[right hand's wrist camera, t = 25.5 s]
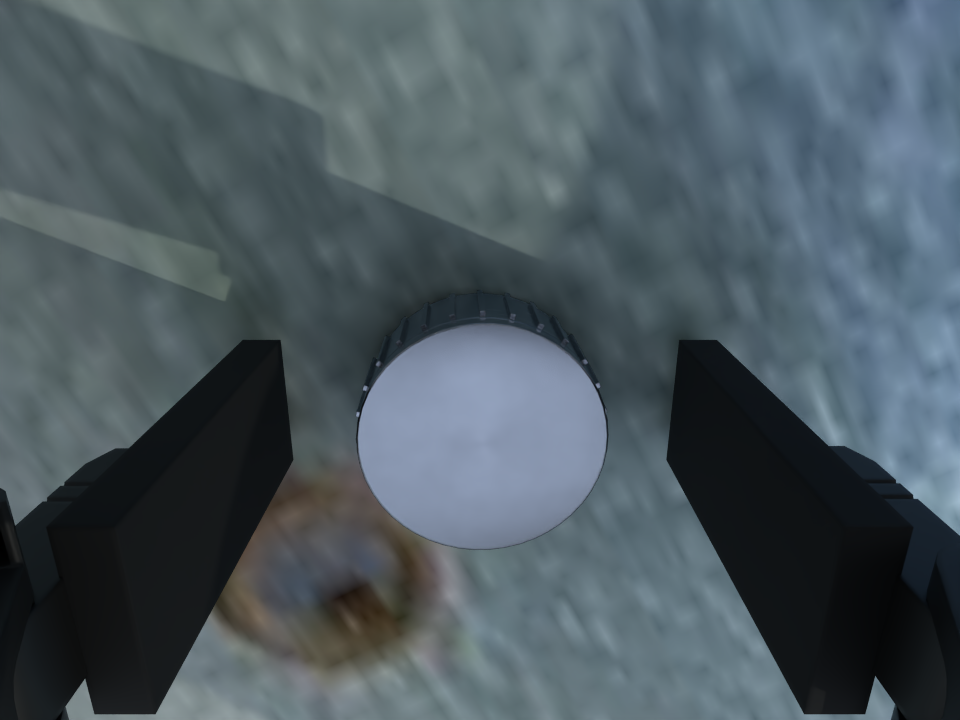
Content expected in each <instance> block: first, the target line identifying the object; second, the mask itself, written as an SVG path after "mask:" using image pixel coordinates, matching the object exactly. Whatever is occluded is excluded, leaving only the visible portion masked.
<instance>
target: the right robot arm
mask: <svg viewBox="0 0 960 720" xmlns="http://www.w3.org/2000/svg"><path fill="white" fill-rule="evenodd" d="M666 460H667V462H668V463H669V465H670V467H671V469H672V471H673V473H674V475H675V476H676V478H677V480H678V482H679V484H680V486H681V487H682V489H683V491H684V493H685V495H686V497H687V499H688V500H689V502H690V504H691V506H692V508H693V510H694V511H695V513H696V515H697V517H698V519H699V521H700V523H701V524H702V526H703V528H704V530H705V532H706V534H707V535H708V537H709V539H710V541H711V543H712V545H713V547H714V548H715V550H716V552H717V554H718V556H719V558H720V559H721V561H722V563H723V565H724V567H725V569H726V571H727V572H728V574H729V576H730V578H731V580H732V582H733V583H734V585H735V587H736V589H737V591H738V593H739V595H740V596H741V598H742V600H743V602H744V604H745V606H746V607H747V609H748V611H749V613H750V615H751V617H752V619H753V620H754V622H755V624H756V626H757V628H758V630H759V631H760V633H761V635H762V637H763V639H764V641H765V643H766V644H767V646H768V648H769V650H770V652H771V654H772V655H773V657H774V659H775V661H776V663H777V665H778V667H779V668H780V670H781V672H782V674H783V676H784V678H785V679H786V681H787V683H788V685H789V687H790V689H791V691H792V692H793V694H794V696H795V698H796V700H797V702H798V703H799V705H800V707H801V709H802V711H803V713H804V714H865V713H866V709H867V705H868V701H869V698H870V694H871V690H872V686H873V682H874V678H875V676H876V677H877V679H878V680H879V682H880V683H881V684H882V686H883V687H884V689H885V690H886V691H887V693H888V694H889V696H890V697H891V699H892V700H893V701H894V703H895V707H894V711H893V714H892V718H891V720H960V536H959V535H958V534H957V533H956V532H955V531H954V530H952V529H951V528H950V527H949V526H948V525H947V524H946V523H944V522H943V521H942V520H941V519H940V518H939V517H938V516H936V515H935V514H934V513H933V512H932V511H931V510H930V509H928V508H927V507H926V506H925V505H924V504H923V503H922V502H920V501H919V500H918V499H913V494H911V493H910V492H909V491H908V490H907V489H906V488H905V487H903V486H902V485H901V484H900V483H896V480H895V479H894V478H893V477H892V476H891V475H890V474H889V473H887V472H886V471H885V470H884V469H883V468H882V467H881V466H879V465H878V464H877V463H876V462H875V461H873V460H871V459H869V458H867V457H865V456H863V455H861V454H859V453H857V452H855V451H853V450H851V449H849V448H847V447H845V446H828V445H827V444H826V443H825V442H824V441H823V440H822V439H821V438H819V437H818V436H817V435H816V434H815V433H814V432H813V431H812V430H811V429H810V428H809V427H808V426H807V425H806V424H805V423H804V422H803V421H802V420H800V419H799V418H798V417H797V416H796V415H795V414H794V413H793V412H792V411H791V410H790V409H789V408H788V407H787V406H786V405H785V404H784V403H783V402H782V401H780V400H779V399H778V398H777V397H776V396H775V395H774V394H773V393H772V392H771V391H770V390H769V389H768V388H767V387H766V386H765V385H764V384H763V383H761V382H760V381H759V380H758V379H757V378H756V377H755V376H754V375H753V374H752V373H751V372H750V371H749V370H748V369H747V368H746V367H745V366H744V365H743V364H741V363H740V362H739V361H738V360H737V359H736V358H735V357H734V356H733V355H732V354H731V353H730V352H729V351H728V350H727V349H726V348H725V347H724V346H722V345H721V344H720V343H719V342H718V341H717V340H679V348H678V357H677V366H676V376H675V385H674V394H673V403H672V413H671V422H670V431H669V441H668V450H667V459H666ZM292 461H293V452H292V443H291V434H290V424H289V415H288V406H287V396H286V387H285V378H284V368H283V359H282V350H281V340H243V341H241V342H240V343H239V344H238V345H237V346H236V347H235V348H234V349H233V350H232V351H231V352H230V353H229V354H228V355H227V356H226V357H225V358H224V359H223V360H221V361H220V362H219V363H218V364H217V365H216V366H215V367H214V368H213V369H212V370H211V371H210V372H209V373H208V374H207V375H206V376H205V377H204V378H202V379H201V380H200V381H199V382H198V383H197V384H196V385H195V386H194V387H193V388H192V389H191V390H190V391H189V392H188V393H187V394H186V395H185V396H184V397H182V398H181V399H180V400H179V401H178V402H177V403H176V404H175V405H174V406H173V407H172V408H171V409H170V410H169V411H168V412H167V413H166V414H165V415H163V416H162V417H161V418H160V419H159V420H158V421H157V422H156V423H155V424H154V425H153V426H152V427H151V428H150V429H149V430H148V431H147V432H146V433H145V434H143V435H142V436H141V437H140V438H139V439H138V440H137V441H136V442H135V443H134V444H133V445H132V446H131V447H130V448H116V449H114V450H112V451H110V452H108V453H106V454H104V455H102V456H100V457H98V458H96V459H94V460H92V461H90V462H88V463H86V464H85V465H84V466H82V467H81V468H80V469H79V470H78V471H77V472H76V473H75V474H73V475H72V476H71V477H70V478H69V479H68V480H67V481H65V485H64V486H60V487H59V488H58V489H56V490H55V491H54V492H53V493H52V494H51V495H50V496H49V497H47V502H42V503H41V504H39V505H38V506H37V507H36V508H35V509H34V510H33V511H32V512H30V513H29V514H28V515H27V516H26V517H25V518H24V519H22V520H21V521H20V522H19V523H18V524H17V525H16V526H15V524H14V520H13V516H12V513H11V509H10V506H9V502H8V498H7V495H6V491H4V490H3V489H1V488H0V720H69V718H68V714H67V711H66V707H65V706H66V705H67V703H68V702H69V701H70V699H71V698H72V696H73V695H74V693H75V692H76V691H77V689H78V688H79V686H80V685H81V683H82V682H83V681H84V679H86V683H87V687H88V691H89V695H90V699H91V702H92V706H93V710H94V714H156V712H157V710H158V709H159V707H160V705H161V703H162V701H163V699H164V698H165V696H166V694H167V692H168V690H169V688H170V686H171V685H172V683H173V681H174V679H175V677H176V675H177V674H178V672H179V670H180V668H181V666H182V664H183V662H184V661H185V659H186V657H187V655H188V653H189V651H190V650H191V648H192V646H193V644H194V642H195V640H196V638H197V637H198V635H199V633H200V631H201V629H202V627H203V626H204V624H205V622H206V620H207V618H208V616H209V614H210V613H211V611H212V609H213V607H214V605H215V603H216V602H217V600H218V598H219V596H220V594H221V592H222V590H223V589H224V587H225V585H226V583H227V581H228V579H229V578H230V576H231V574H232V572H233V570H234V568H235V566H236V565H237V563H238V561H239V559H240V557H241V555H242V554H243V552H244V550H245V548H246V546H247V544H248V542H249V541H250V539H251V537H252V535H253V533H254V531H255V530H256V528H257V526H258V524H259V522H260V520H261V518H262V517H263V515H264V513H265V511H266V509H267V507H268V506H269V504H270V502H271V500H272V498H273V496H274V494H275V493H276V491H277V489H278V487H279V485H280V483H281V482H282V480H283V478H284V476H285V474H286V472H287V470H288V469H289V467H290V465H291V463H292Z"/></svg>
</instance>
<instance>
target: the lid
mask: <svg viewBox="0 0 960 720" xmlns="http://www.w3.org/2000/svg"><path fill="white" fill-rule="evenodd" d="M600 387H601V386H600V383H599V381H598V379H597V378H596V376H595V374H594V372H593V370H592V368H591V367H590V365H589V363H588V361H587V359H586V358H585V356H584V354H583V352H582V350H581V349H580V347H579V345H578V343H577V341H576V340H575V338H574V336H573V335H572V334H570V335H569V336H568V335H567V333H566V332H565V331H564V330H563V329H562V327H561V325H560V323H559V321H558V319H557V318H556V317H555V316H554V315H553V316H552V317H549V316H548V315H547V314H545V313H544V312H543V311H541V310H539V309H537V307H536V305H535V303H534V302H531V301H530V303H529V304H528V303H525V302H523V301H521V300H518V299H515V298H511V297H510V294H509V293H504V295H497V294H489V293H483V292H482V290H477V293H472V294H464V295H457V296H455V293H452V294H449V298H445V299H442V300H440V301H437V302H435V303H432V304H429V302H427V303H425V304H424V305H423V308H422V309H421V310H419V311H417V312H416V313H414V314H413V315H412V316H410V317H409V318H408V319H407V318H406V317H403V318H402V319H401V323H400V326H399V327H398V328H397V329H396V330H395V331H394V332H393V333H392V335H391V336H390V337H389V336H387V335H386V336H385V338H384V340H383V343H382V346H381V349H380V352H379V355H378V358H374V357H373V360H372V362H371V365H370V368H369V371H368V374H367V377H366V380H365V383H364V386H363V389H362V390H364V391H363V394H362V397H361V400H360V403H359V406H358V409H357V412H356V417H359V418H358V422H357V433H356V443H357V453H358V458H359V463H360V467H361V470H362V473H363V475H364V478H365V481H366V482H367V484H368V486H369V488H370V490H371V492H372V494H373V495H374V496H375V498H376V499H377V501H378V502H379V503H380V505H381V506H382V507H383V508H384V509H385V510H386V511H387V512H388V513H389V514H390V515H391V516H392V517H393V518H394V519H395V520H396V521H398V522H399V523H400V524H401V525H403V526H404V527H406V528H407V529H409V530H410V531H412V532H414V533H415V534H417V535H419V536H421V537H424V538H426V539H428V540H430V541H433V542H436V543H439V544H442V545H446V546H450V547H455V548H461V549H471V550H490V549H498V548H505V547H510V546H514V545H518V544H521V543H524V542H527V541H530V540H532V539H535V538H537V537H539V536H541V535H543V534H545V533H547V532H549V531H550V530H552V529H553V528H555V527H557V526H558V525H560V524H561V523H562V522H563V521H565V520H566V519H567V518H568V517H569V516H571V515H572V514H573V513H574V512H575V511H576V510H577V509H578V508H579V507H580V505H581V504H582V503H583V502H584V501H585V499H586V498H587V496H588V495H589V494H590V492H591V491H592V489H593V487H594V485H595V483H596V482H597V480H598V478H599V475H600V473H601V470H602V467H603V465H604V461H605V457H606V452H607V446H608V420H607V415H606V413H607V409H606V407H605V405H604V403H603V400H602V397H601V395H600V392H599V390H598V388H600Z"/></svg>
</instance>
